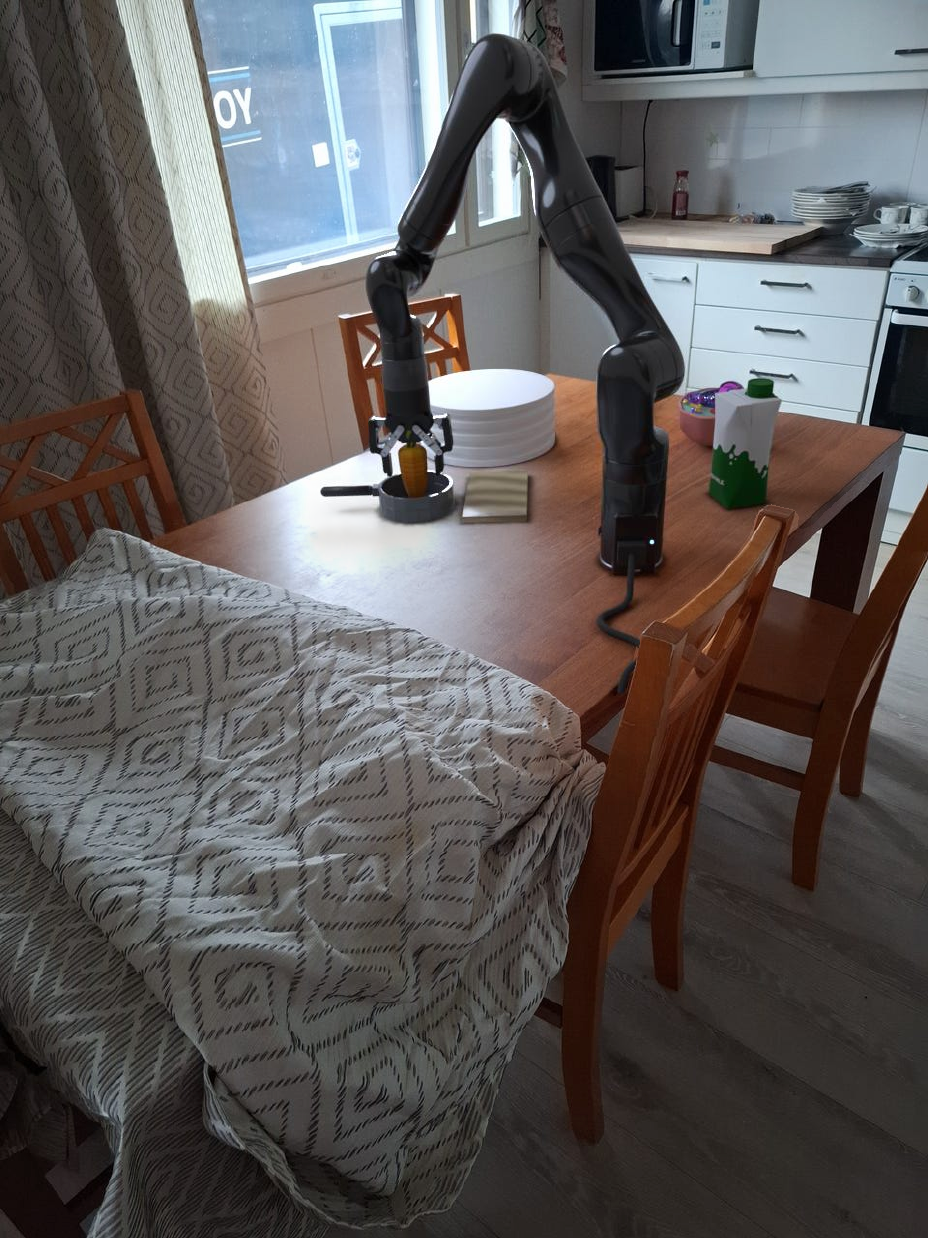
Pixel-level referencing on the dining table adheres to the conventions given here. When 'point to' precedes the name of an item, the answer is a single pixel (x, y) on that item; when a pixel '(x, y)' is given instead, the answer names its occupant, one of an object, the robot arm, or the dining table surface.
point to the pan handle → (350, 490)
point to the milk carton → (743, 443)
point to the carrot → (413, 468)
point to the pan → (416, 499)
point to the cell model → (701, 412)
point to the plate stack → (494, 416)
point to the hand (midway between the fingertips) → (414, 474)
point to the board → (496, 497)
